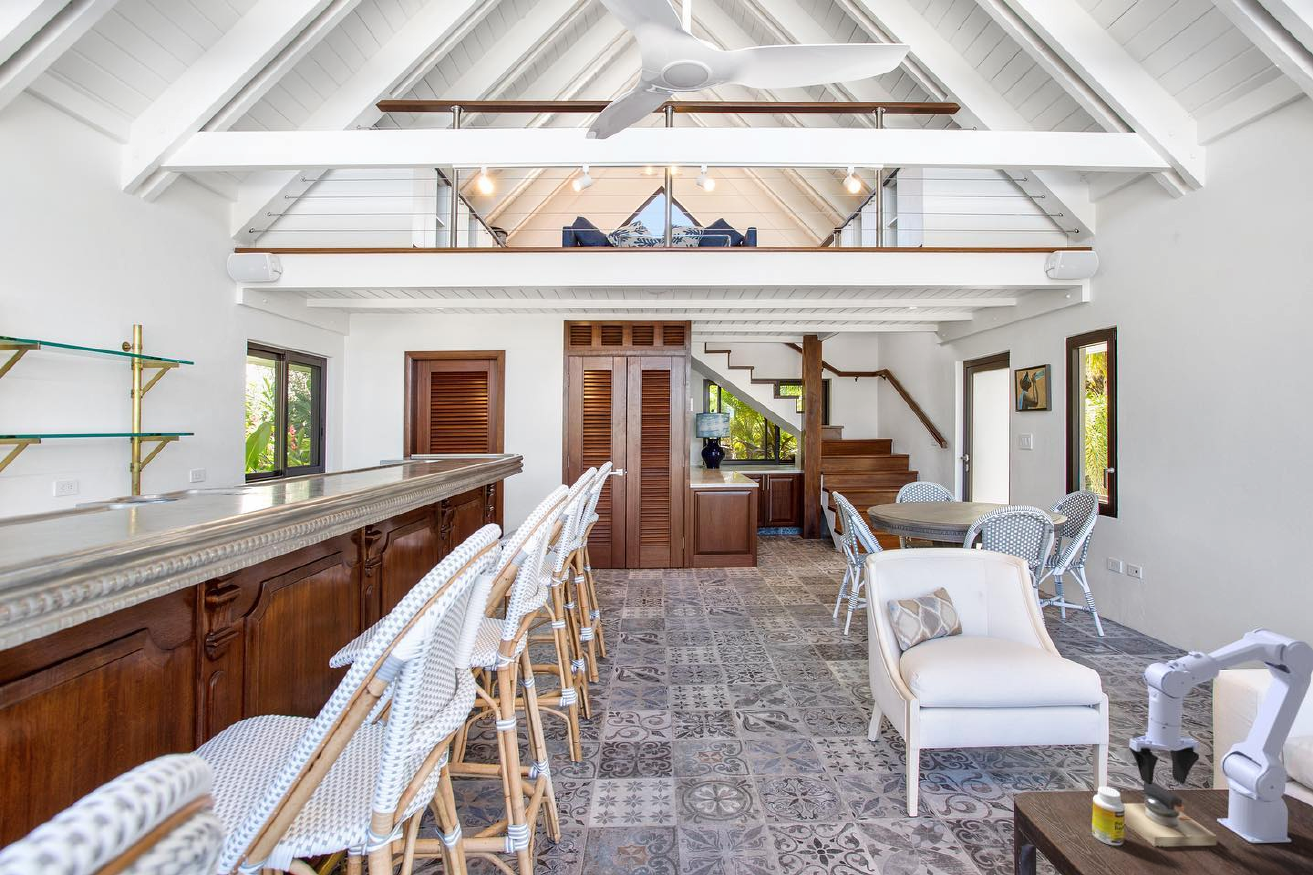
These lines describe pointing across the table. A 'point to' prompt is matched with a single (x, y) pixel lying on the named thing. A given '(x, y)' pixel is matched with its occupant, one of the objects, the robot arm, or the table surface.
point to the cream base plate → (1166, 828)
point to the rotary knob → (1162, 801)
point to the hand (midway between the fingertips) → (1162, 781)
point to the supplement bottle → (1108, 816)
